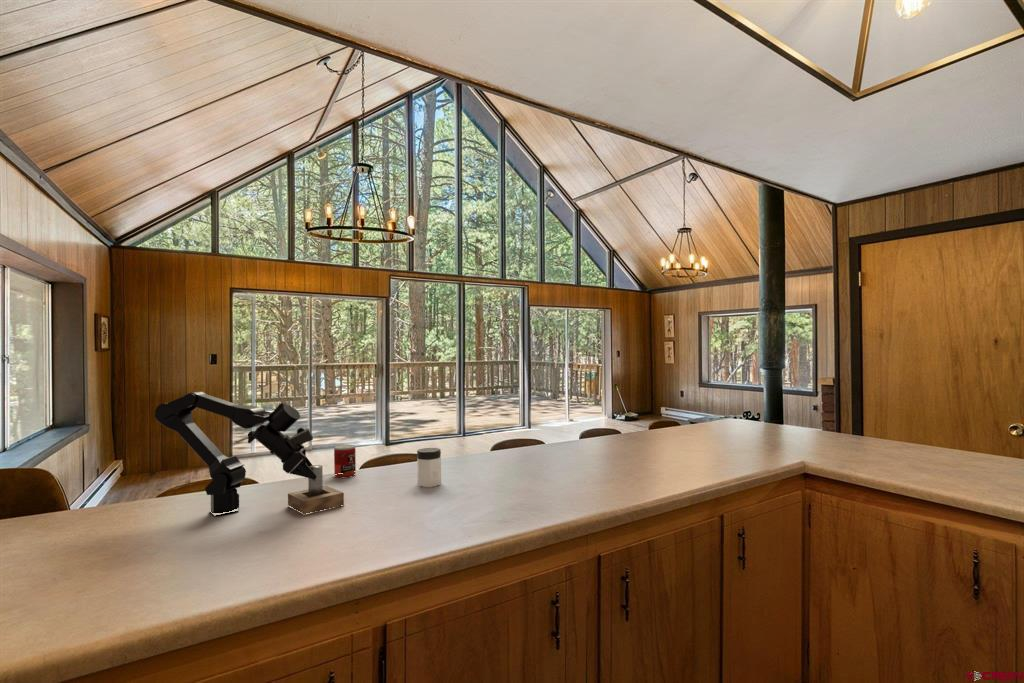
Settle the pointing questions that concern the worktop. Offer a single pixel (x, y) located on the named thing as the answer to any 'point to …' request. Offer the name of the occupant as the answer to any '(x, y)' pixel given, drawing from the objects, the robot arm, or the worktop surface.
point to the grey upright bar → (316, 481)
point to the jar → (429, 467)
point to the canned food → (344, 460)
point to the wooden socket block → (315, 500)
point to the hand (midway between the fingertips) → (315, 474)
